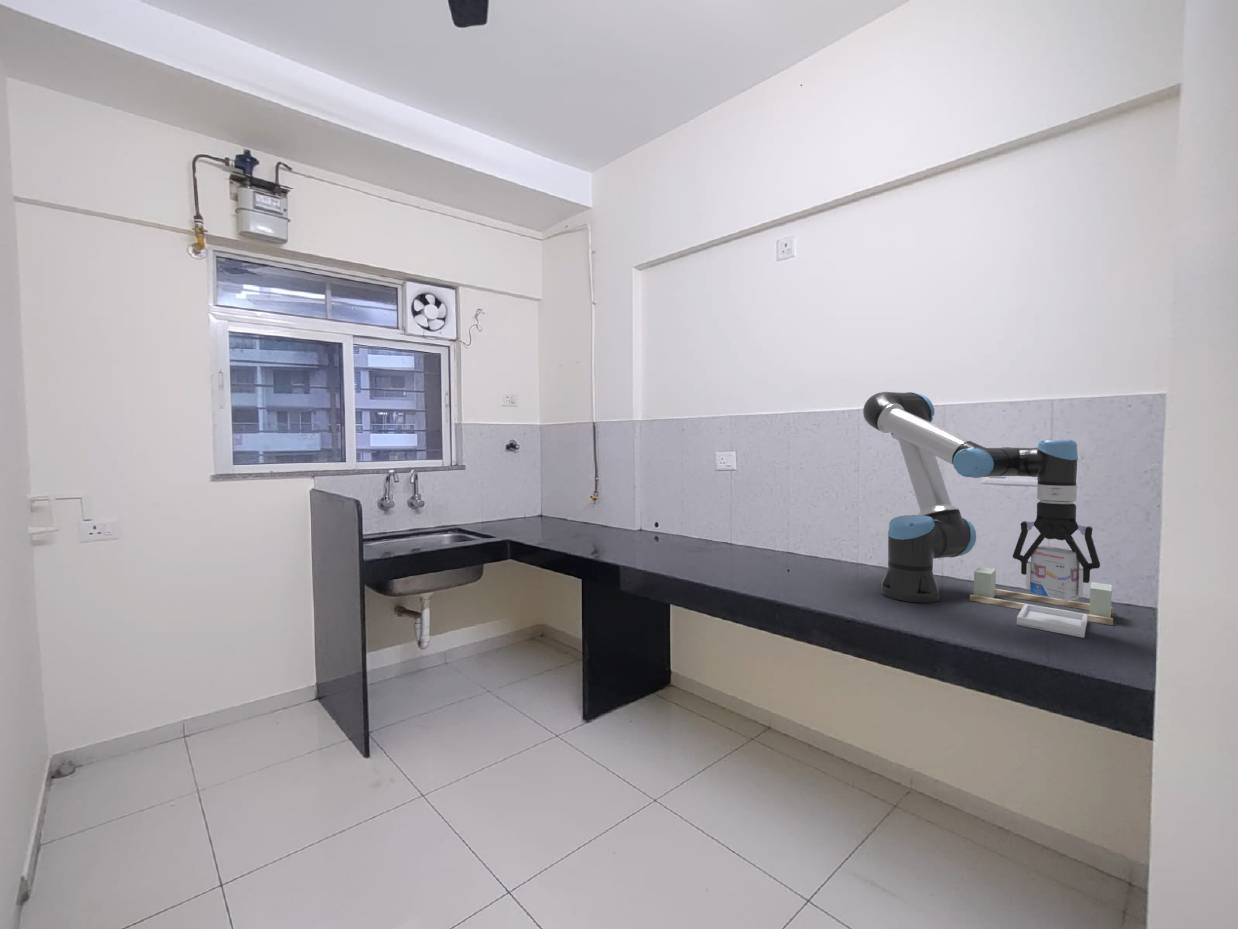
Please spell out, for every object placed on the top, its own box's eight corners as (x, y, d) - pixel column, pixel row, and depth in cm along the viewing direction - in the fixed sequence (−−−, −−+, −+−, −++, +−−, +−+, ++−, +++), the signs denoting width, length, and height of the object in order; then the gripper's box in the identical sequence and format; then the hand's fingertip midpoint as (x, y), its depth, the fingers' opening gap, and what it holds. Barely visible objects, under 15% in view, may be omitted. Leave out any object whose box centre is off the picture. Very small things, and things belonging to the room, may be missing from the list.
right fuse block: (1088, 618, 135) (1090, 588, 135) (1090, 611, 141) (1091, 582, 141) (1110, 622, 132) (1111, 591, 132) (1110, 614, 138) (1111, 584, 138)
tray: (1016, 624, 131) (1016, 617, 131) (1024, 611, 141) (1024, 603, 141) (1084, 637, 122) (1084, 629, 122) (1087, 622, 133) (1087, 614, 133)
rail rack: (969, 600, 151) (969, 595, 151) (978, 591, 160) (978, 586, 160) (1112, 625, 130) (1113, 619, 130) (1113, 613, 140) (1113, 607, 140)
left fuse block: (973, 598, 153) (974, 571, 152) (979, 593, 158) (979, 566, 158) (990, 601, 150) (991, 574, 149) (995, 595, 156) (995, 569, 155)
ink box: (1028, 592, 135) (1029, 546, 134) (1041, 590, 136) (1042, 544, 136) (1066, 601, 127) (1068, 552, 126) (1079, 599, 128) (1081, 551, 128)
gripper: (999, 500, 135) (997, 586, 136) (1117, 506, 120) (1114, 603, 121) (1004, 497, 141) (1002, 580, 142) (1117, 504, 126) (1114, 596, 126)
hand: (1053, 591), depth 131 cm, fingers closed on ink box, 9 cm apart
